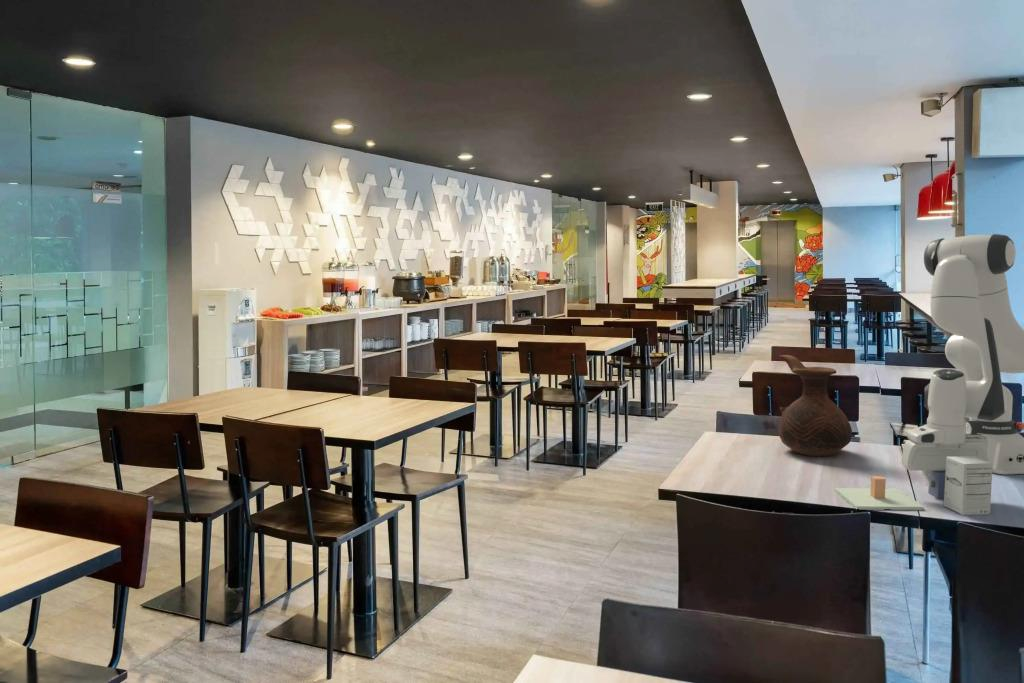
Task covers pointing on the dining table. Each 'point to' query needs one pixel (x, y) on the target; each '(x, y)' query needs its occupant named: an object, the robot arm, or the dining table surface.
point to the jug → (813, 415)
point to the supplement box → (968, 485)
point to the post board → (878, 504)
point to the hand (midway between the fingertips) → (943, 487)
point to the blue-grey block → (938, 484)
